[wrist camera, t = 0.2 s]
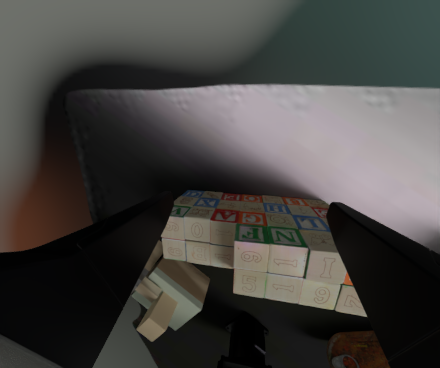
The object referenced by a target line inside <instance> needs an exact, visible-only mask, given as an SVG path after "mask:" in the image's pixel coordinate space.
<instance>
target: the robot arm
mask: <svg viewBox="0 0 440 368" xmlns="http://www.w3.org/2000/svg"><path fill="white" fill-rule="evenodd" d="M173 207H174V200H173V196H172V193H171V192H168V191H164V192H162V193H160V194H158V195H155V196H153V197H151V198H149V199H147V200H145V201H142V202H140V203H138V204H136V205H134V206H132V207H129V208H127V209H125V210H123V211H121V212H119V213H116V214H114V215H112V216H110V217H108V218H106V219H103V220H101V221H99V222H97V223H95V224H92V225H90V226H88V227H86V228H83V229H81V230H78V231H76V232H74V233H71V234H69V235H66V236H64V237H61V238H59V239H56V240H54V241H52V242H49V243H47V244H44V245H42V246H39V247H36V248H32V249H29V250H24V251H17V252H3V253H0V368H92V367H93V365H94V363H95V361H96V359H97V358H98V356H99V353H100V352H101V350H102V348H103V346H104V344H105V342H106V340H107V338H108V336H109V335H110V332H111V331H112V329H113V327H114V325H115V323H116V321H117V319H118V317H119V315H120V314H121V311H122V310H123V307H124V306H125V304H126V302H127V300H128V298H129V296H130V294H131V292H132V290H133V288H134V287H135V285H136V283H137V281H138V279H139V277H140V275H141V273H142V271H143V269H144V267H145V265H146V264H147V262H148V260H149V258H150V256H151V254H152V252H153V250H154V248H155V246H156V244H157V242H158V241H159V239H160V237H161V235H162V233H163V231H164V229H165V227H166V225H167V222H168V220H169V217H170V214H171V212H172V209H173ZM326 219H327V222H328V225H329V228H330V232H331V235H332V238H333V241H334V244H335V246H336V249H337V251H338V253H339V255H340V257H341V260H342V262H343V264H344V266H345V269H346V271H347V273H348V275H349V277H350V280H351V282H352V284H353V286H354V288H355V291H356V293H357V295H358V297H359V300H360V302H361V304H362V306H363V308H364V311H365V313H366V315H367V317H368V319H369V322H370V324H371V326H372V328H373V331H374V333H375V335H376V337H377V339H378V342H379V344H380V346H381V348H382V350H383V353H384V355H385V357H386V359H387V360H388V364H389V366H390V368H440V254H438V253H436V252H434V251H432V250H429V249H428V248H426V247H424V246H423V245H421V244H419V243H417V242H415V241H413V240H411V239H409V238H407V237H405V236H404V235H402V234H400V233H398V232H396V231H394V230H392V229H390V228H388V227H387V226H385V225H383V224H381V223H379V222H377V221H375V220H373V219H371V218H369V217H368V216H366V215H364V214H362V213H360V212H358V211H356V210H354V209H352V208H350V207H349V206H347V205H345V204H343V203H340V202H332V203H331V204H330V206H329V208H328V211H327V214H326ZM225 328H226V329H227V330H228V331H229V332H230V333H231V337H230V348H229V357H225V356H224V355H221V360H220V361H218V366H217V368H272V366H270V365H268V366H267V365H265V354H266V351H265V336H267V335H268V334H269V331H268V330H267V329H266V328H265V327H263V326H262V325H261V324H260V323H258V322H257V321H256V320H255V319H253V318H252V317H251V316H250V315H248V314H247V313H243V314H241V315H240V316H238V317H237V318H235V319H234V320H232V321H231V322H229V323H228V324H226V327H225Z"/></svg>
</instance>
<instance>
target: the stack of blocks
mask: <svg viewBox="0 0 440 368" xmlns="http://www.w3.org/2000/svg"><path fill="white" fill-rule="evenodd" d="M329 206H330V205H329V204H327V203H326V202H325V201H319V200H308V199H302V198H290V197H278V196H267V195H262V196H258V195H245V194H242V195H241V194H229V193H223V192H211V191H197V190H187V191H186V192H185V193H184V194H183V195H181V196H180V197H179V198H177V199H176V200H175V201H174V207H173V209H172V212H171V214H170V217H169V220H168V222H167V225H166V227H165V229H164V231H163V233H162V235H161V237H162V246H163V255H164V258H165V259H173V260H179V261H187V262H190V263H197V264H203V265H211V266H216V267H223V268H234V283H233V293H236V294H241V295H247V296H253V297H259V298H267V299H272V300H278V301H285V302H290V303H298V304H301V305H307V306H313V307H318V308H324V309H330V310H333V309H334V310H336V311H338V312H343V313H349V314H354V315H360V316H365V317H367V315H366V313H365V311H364V308H363V306H362V304H361V302H360V300H359V297H358V295H357V293H356V291H355V288H354V286H353V284H352V282H351V280H350V277H349V275H348V273H347V271H346V269H345V266H344V264H343V262H342V260H341V257H340V255H339V253H338V251H337V249H336V246H335V244H334V241H333V238H332V235H331V232H330V228H329V225H328V222H327V219H326V214H327V211H328V208H329Z"/></svg>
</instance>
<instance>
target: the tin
mask: <svg viewBox="0 0 440 368" xmlns="http://www.w3.org/2000/svg"><path fill="white" fill-rule="evenodd" d="M327 358H328V362H329V365H330V367H331V368H390V366H389V364H388V360H387V359H386V357H385V355H384V353H383V350H382V348H381V346H380V344H379V342H378V339H377V337H376V335H375V333H374V331H373V330H372V331H354V332H339V333H336V334H334V335H333V336H332V337H331V338H330V339H329V341H328V344H327Z"/></svg>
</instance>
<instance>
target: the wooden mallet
mask: <svg viewBox="0 0 440 368" xmlns="http://www.w3.org/2000/svg"><path fill="white" fill-rule="evenodd" d="M135 290H136V291H137V292H138V293H140V294H141V295H142V296H143V297H145V298H146V299H147V300H149V301H150V302H151V303H152V302H153V301H154V300H155V299H156V298H157V297H158V296H159V294H160V292H161V291H162V289H160V288H159V287H158V286H157V285H155V284H154V283H153V282H152V281H150V280H149V279H148V278H147V277H144V279H143V280H142V281H141V283H140V284H139V285H138V287H137V288H136V289H135Z"/></svg>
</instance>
